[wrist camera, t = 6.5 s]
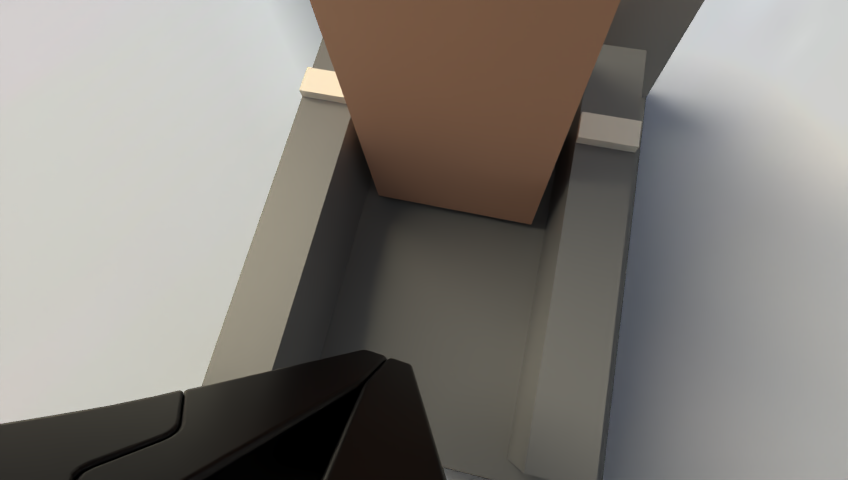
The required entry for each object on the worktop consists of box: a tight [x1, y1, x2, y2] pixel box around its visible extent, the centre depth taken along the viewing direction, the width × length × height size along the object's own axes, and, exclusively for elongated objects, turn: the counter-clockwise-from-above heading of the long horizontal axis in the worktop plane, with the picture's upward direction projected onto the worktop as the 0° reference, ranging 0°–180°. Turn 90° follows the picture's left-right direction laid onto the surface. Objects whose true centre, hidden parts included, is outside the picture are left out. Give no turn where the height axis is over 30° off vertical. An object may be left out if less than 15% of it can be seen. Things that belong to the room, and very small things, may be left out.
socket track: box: [202, 0, 704, 480], centre depth 12 cm, size 12×9×6 cm
